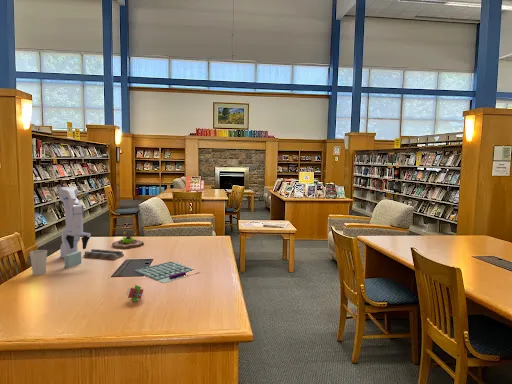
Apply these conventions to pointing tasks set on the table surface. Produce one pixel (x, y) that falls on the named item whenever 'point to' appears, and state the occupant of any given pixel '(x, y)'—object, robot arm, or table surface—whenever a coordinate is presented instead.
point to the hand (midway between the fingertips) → (78, 248)
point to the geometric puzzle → (135, 293)
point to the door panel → (72, 259)
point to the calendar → (165, 271)
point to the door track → (103, 254)
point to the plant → (127, 242)
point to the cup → (38, 262)
